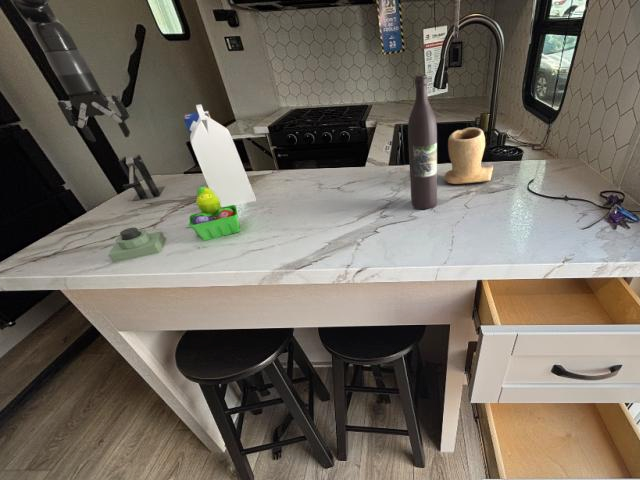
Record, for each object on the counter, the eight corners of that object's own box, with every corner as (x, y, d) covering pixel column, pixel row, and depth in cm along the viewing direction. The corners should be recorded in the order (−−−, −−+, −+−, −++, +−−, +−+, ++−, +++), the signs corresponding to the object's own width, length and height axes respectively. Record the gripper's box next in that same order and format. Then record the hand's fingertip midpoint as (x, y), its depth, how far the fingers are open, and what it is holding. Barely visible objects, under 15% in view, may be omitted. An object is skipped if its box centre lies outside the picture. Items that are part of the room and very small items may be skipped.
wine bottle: (412, 210, 91) (405, 78, 72) (410, 200, 96) (404, 75, 77) (438, 208, 91) (438, 76, 72) (435, 198, 96) (435, 72, 77)
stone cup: (445, 190, 100) (446, 135, 91) (443, 176, 110) (444, 125, 100) (497, 187, 99) (503, 132, 90) (491, 173, 108) (496, 122, 99)
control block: (113, 262, 80) (102, 248, 77) (122, 247, 86) (113, 233, 83) (159, 253, 82) (150, 238, 80) (165, 238, 88) (157, 224, 86)
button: (122, 242, 80) (117, 235, 79) (126, 235, 83) (122, 229, 82) (138, 238, 81) (134, 232, 80) (142, 232, 83) (138, 226, 82)
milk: (256, 200, 104) (223, 105, 88) (217, 210, 101) (174, 112, 84) (251, 189, 113) (219, 100, 96) (215, 197, 109) (175, 106, 93)
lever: (142, 188, 104) (138, 182, 102) (126, 191, 103) (121, 185, 101) (142, 162, 109) (137, 156, 107) (126, 164, 108) (121, 158, 106)
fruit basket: (198, 244, 84) (175, 201, 77) (198, 230, 90) (177, 189, 83) (245, 233, 87) (228, 190, 80) (242, 220, 94) (226, 179, 87)
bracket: (160, 199, 111) (139, 159, 103) (133, 204, 109) (109, 164, 101) (166, 189, 119) (146, 151, 110) (141, 194, 117) (119, 155, 109)
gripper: (108, 68, 92) (140, 132, 103) (46, 74, 89) (86, 140, 99) (100, 70, 87) (135, 137, 97) (34, 76, 83) (78, 146, 93)
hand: (110, 139), depth 98 cm, fingers open, 8 cm apart
